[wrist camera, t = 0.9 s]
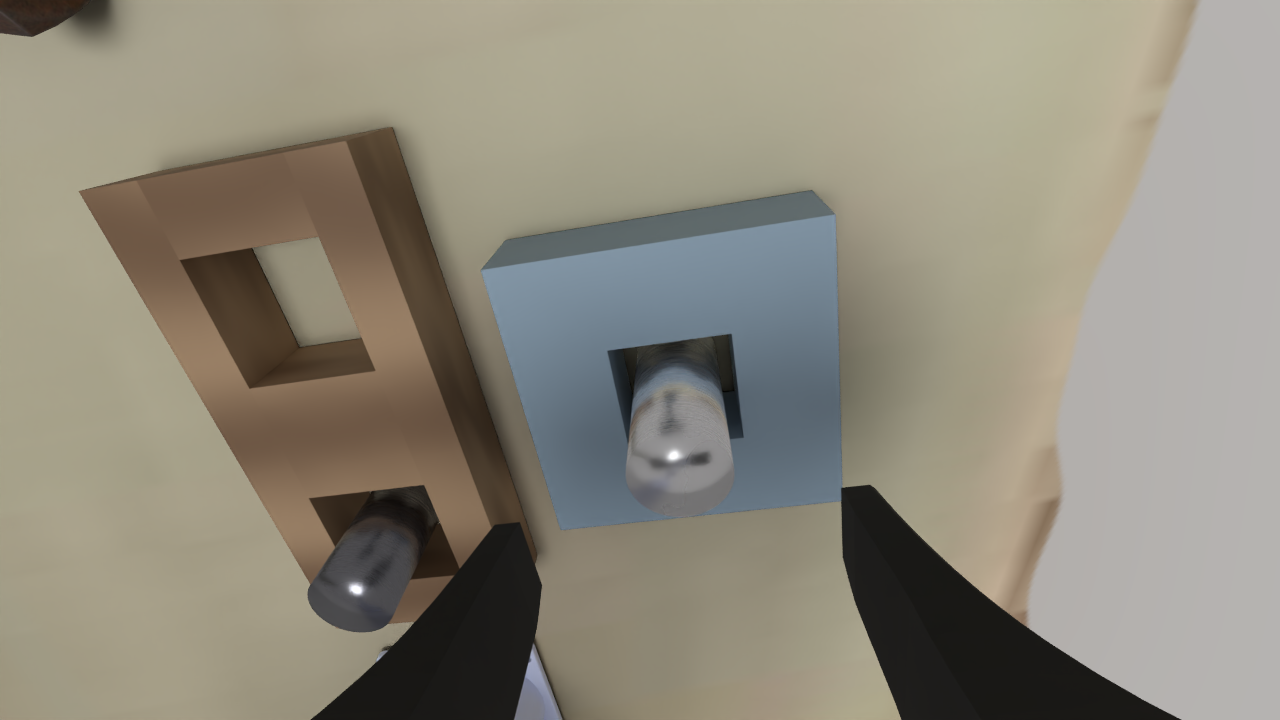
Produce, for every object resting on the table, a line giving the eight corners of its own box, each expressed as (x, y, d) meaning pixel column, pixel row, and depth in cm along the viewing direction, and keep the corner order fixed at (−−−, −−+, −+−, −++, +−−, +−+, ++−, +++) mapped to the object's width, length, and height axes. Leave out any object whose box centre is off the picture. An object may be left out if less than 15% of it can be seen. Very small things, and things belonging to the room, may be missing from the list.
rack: (537, 555, 27) (522, 611, 24) (368, 571, 28) (336, 628, 25) (392, 126, 19) (345, 141, 16) (159, 170, 19) (78, 191, 17)
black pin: (460, 507, 26) (405, 628, 20) (398, 514, 26) (328, 635, 21) (438, 454, 24) (374, 568, 19) (374, 461, 25) (293, 576, 19)
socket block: (822, 448, 23) (842, 500, 21) (572, 477, 25) (560, 530, 22) (811, 190, 19) (835, 214, 16) (505, 240, 20) (480, 270, 17)
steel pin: (719, 380, 22) (739, 511, 16) (644, 390, 23) (635, 522, 16) (710, 311, 21) (728, 423, 15) (631, 322, 21) (616, 437, 15)
